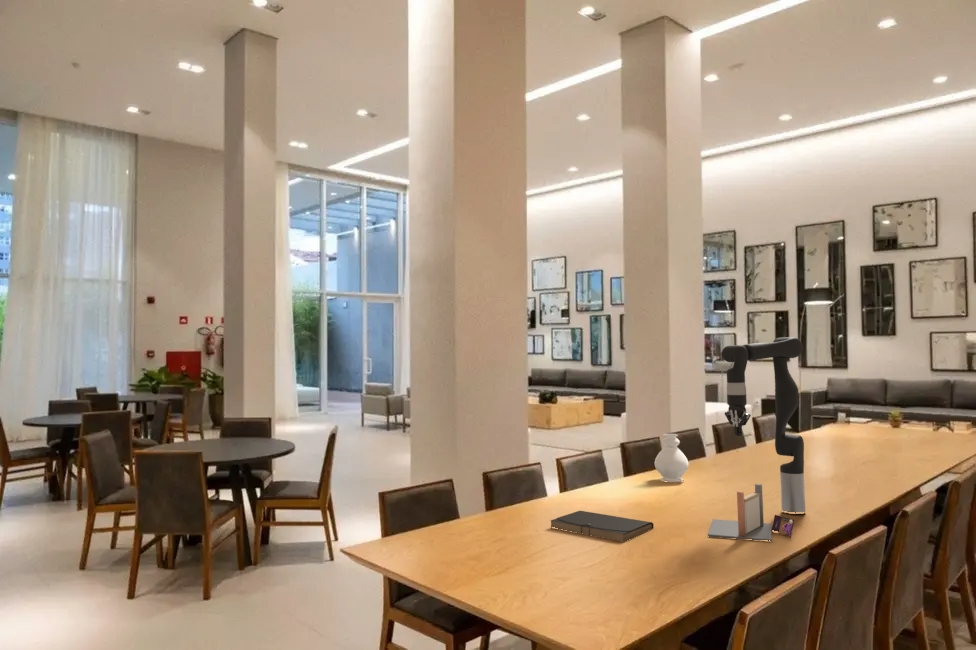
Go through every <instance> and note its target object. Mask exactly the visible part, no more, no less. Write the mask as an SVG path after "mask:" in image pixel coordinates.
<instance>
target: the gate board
mask: <svg viewBox="0 0 976 650" xmlns="http://www.w3.org/2000/svg"><path fill="white" fill-rule="evenodd" d="M754 492H756V493H760V496H759V506H760V526H759V527H757V528H755V529H753V530H752V531H750V532H748V533H745V510H744V497H745V493H744V491H739V490H738V491H736V499H737V501H736V502H737V503H736V505H737V507H736V508H737V520H732V519H731V520H728V519H717V518H716V519H715V518H713V519H712V520H711V524H710V526H709V530H708V532H707V537H708V536H709V537H708V538H714V537H722V538H721V539H725V538H736V539H735V540H737V539H752V540H768V541H769V540H770V541H772V542H773V540H772V538H773V537H772V535H771V534H772V532H771V530H772V523H769V522H764V505H763V504H764V500H763V484H762V483H756V484H755V483H754Z"/></svg>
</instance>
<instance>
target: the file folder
mask: <svg viewBox="0 0 976 650" xmlns="http://www.w3.org/2000/svg"><path fill="white" fill-rule="evenodd" d="M551 527H555V528H558V529H563V530H567V531H572V532H577V533H576V534H578V533H581V534H582V533H583V534H582V535H584V534H587V535H586V536H588V537H594V536H597V537H596V538H600V537H604V538H603V539H606V538H609V539H608V540H611V539H613V540H612V541H615V540H617V541H616V542H620V541H622V542H621V543H626V542H628V541H630V540H629V539H631V540H632V538H633V539H635V538H636V536H637V537H638V536H640V535H643V534H645V533H647V532H649V531H651V530H654V522H652V521H648V520H647V521H645V520H640V519H634V518H627V517H622V516H617V515H616V516H615V515H609V514H604V513H597V512H592V511H591V512H590V511H585V510H578V511H575V512H572V513H568V514H565V515H562V516H559V517H556V518H554V519H550V528H551ZM648 530H649V531H648ZM567 531H566V532H567ZM646 531H647V532H646ZM572 532H571V533H572ZM644 532H645V533H644ZM642 533H643V534H642ZM581 534H580V535H581ZM590 535H592V536H590ZM634 537H635V538H634ZM627 540H628V541H627ZM625 541H626V542H625Z"/></svg>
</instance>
